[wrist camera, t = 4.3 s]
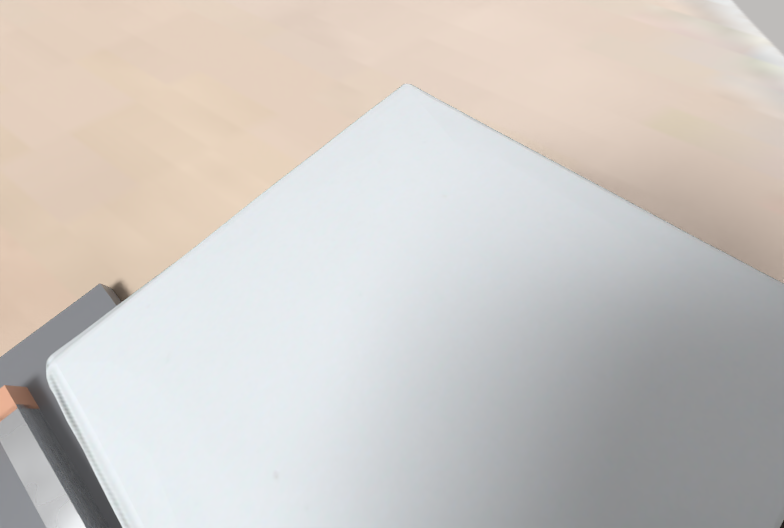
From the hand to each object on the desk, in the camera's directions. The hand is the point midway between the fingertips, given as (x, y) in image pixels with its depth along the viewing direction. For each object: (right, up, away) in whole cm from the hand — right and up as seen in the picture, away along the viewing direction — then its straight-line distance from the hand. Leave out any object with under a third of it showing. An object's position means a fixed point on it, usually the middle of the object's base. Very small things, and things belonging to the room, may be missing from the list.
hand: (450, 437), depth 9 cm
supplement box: (0, -3, +7) cm, 8 cm away
